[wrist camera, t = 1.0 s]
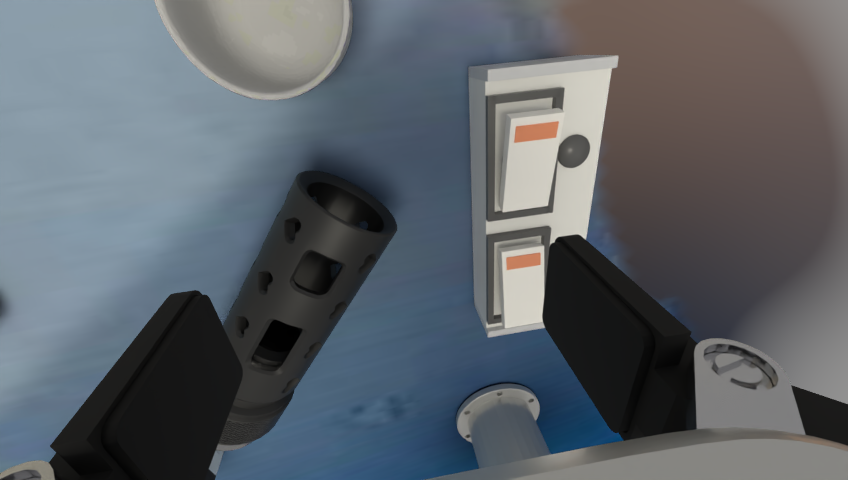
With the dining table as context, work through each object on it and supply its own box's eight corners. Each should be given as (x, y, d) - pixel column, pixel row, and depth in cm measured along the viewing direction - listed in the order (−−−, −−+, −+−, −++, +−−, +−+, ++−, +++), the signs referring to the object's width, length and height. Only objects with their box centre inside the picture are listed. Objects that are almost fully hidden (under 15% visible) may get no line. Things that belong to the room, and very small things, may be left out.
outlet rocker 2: (537, 313, 36) (544, 322, 35) (499, 319, 36) (505, 329, 34) (536, 240, 34) (544, 246, 32) (495, 246, 34) (502, 252, 32)
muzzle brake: (396, 202, 35) (406, 253, 26) (283, 383, 45) (262, 467, 36) (305, 153, 32) (280, 194, 23) (203, 360, 41) (157, 447, 32)
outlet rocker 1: (539, 195, 32) (548, 206, 30) (496, 201, 31) (503, 213, 30) (554, 104, 27) (565, 112, 25) (503, 110, 26) (511, 119, 25)
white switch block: (553, 291, 44) (576, 322, 39) (474, 304, 43) (488, 337, 38) (579, 54, 31) (618, 55, 26) (468, 66, 30) (487, 69, 25)
